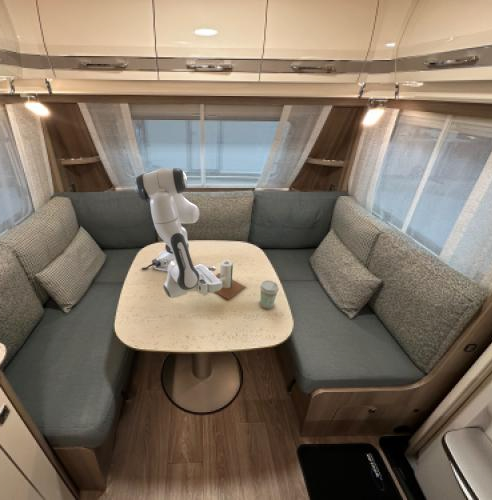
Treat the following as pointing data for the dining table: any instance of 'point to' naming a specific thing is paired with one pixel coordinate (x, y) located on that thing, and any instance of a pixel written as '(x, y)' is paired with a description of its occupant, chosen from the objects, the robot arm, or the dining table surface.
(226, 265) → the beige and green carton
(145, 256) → the dining table surface
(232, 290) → the cork mat
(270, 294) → the coffee cup
